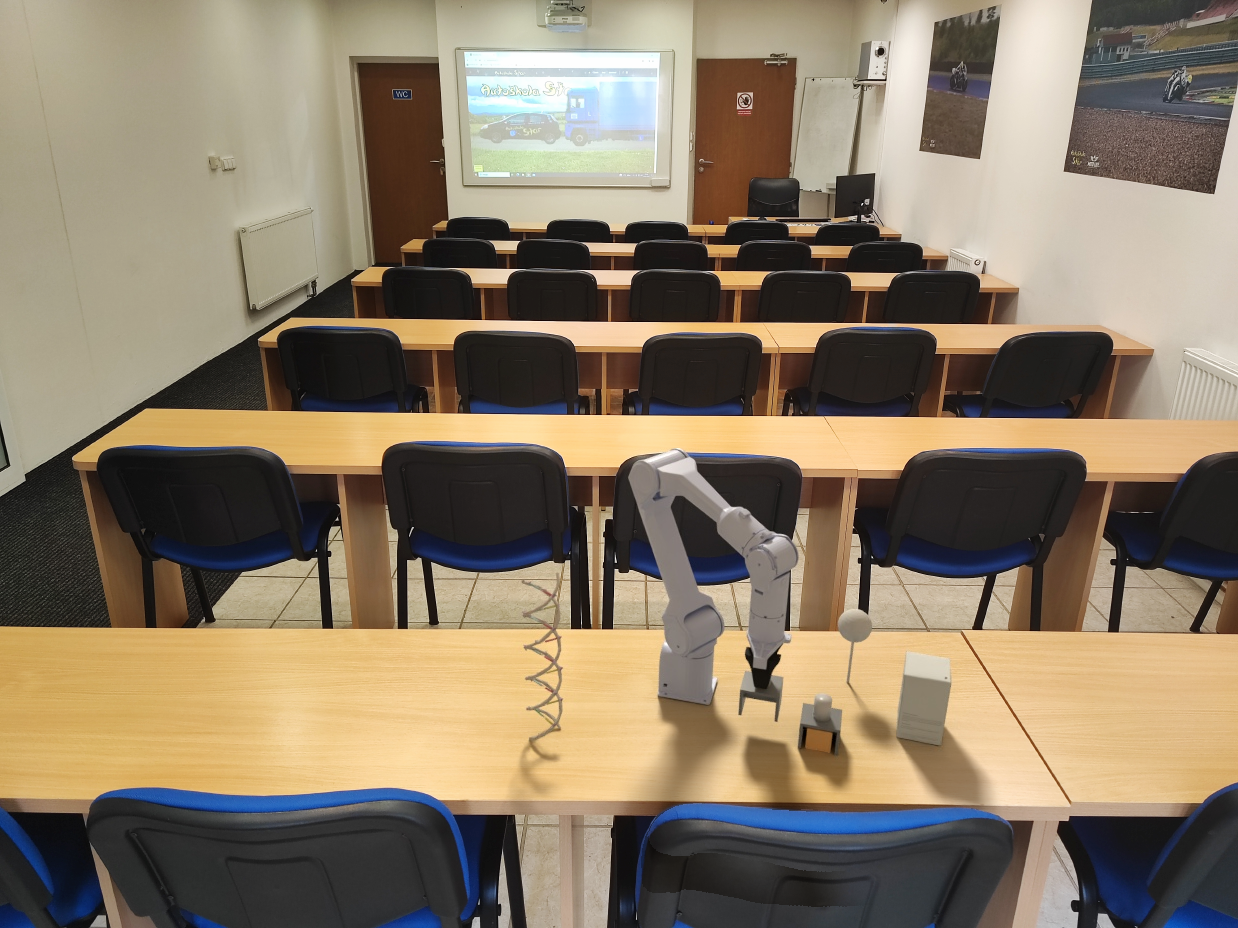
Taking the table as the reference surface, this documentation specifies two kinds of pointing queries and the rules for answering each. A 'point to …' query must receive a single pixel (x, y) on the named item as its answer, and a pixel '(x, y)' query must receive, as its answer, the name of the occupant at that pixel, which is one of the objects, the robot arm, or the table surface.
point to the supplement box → (924, 698)
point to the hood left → (761, 692)
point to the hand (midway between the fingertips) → (762, 680)
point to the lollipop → (854, 629)
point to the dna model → (547, 656)
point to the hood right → (821, 718)
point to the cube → (818, 739)
